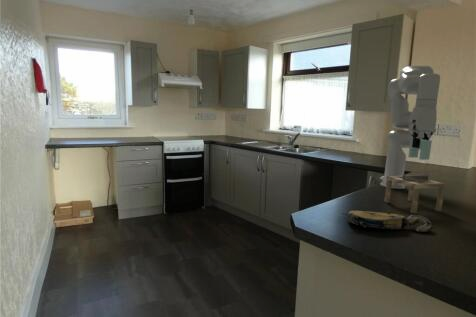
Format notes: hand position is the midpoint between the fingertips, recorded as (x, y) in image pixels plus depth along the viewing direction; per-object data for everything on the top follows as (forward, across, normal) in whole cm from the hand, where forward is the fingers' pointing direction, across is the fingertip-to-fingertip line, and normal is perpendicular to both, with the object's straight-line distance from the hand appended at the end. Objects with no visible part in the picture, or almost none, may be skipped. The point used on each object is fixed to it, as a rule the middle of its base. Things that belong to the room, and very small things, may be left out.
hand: (419, 147), depth 128 cm
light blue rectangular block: (+5, 0, 0) cm, 5 cm away
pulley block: (+27, +30, +18) cm, 44 cm away
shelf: (+26, 0, 0) cm, 26 cm away
